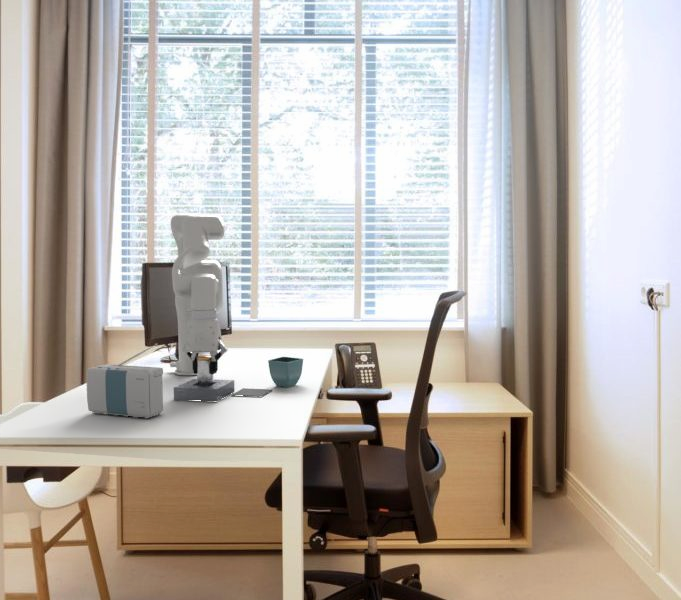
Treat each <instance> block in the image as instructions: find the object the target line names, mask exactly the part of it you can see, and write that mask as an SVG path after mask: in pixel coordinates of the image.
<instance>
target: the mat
mask: <svg viewBox="0 0 681 600" xmlns="http://www.w3.org/2000/svg"><path fill="white" fill-rule="evenodd" d="M270 391H271V392H273V389H272V388H270V389H269V388H244V387H243V388H241V389H239V390H237V391H236V392H234V393H233V394H231V395H243V396H263V395H265V394H266V395H268V394H269V393H271V392H270ZM268 392H269V393H268ZM267 393H268V394H267ZM266 395H265V396H266ZM263 397H264V396H263Z"/></svg>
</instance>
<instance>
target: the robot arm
mask: <svg viewBox="0 0 681 600" xmlns="http://www.w3.org/2000/svg"><path fill="white" fill-rule="evenodd" d="M225 230H226V229H225V223H224V220H223V218H222V217H221V216H220V215H218V214H209V213H208V214H205V213H202V214H200V213H179V214H175V215H173V216H172V217H171V218H170V231H171V234H172V237H173V239H174V241H175V244H176V247H177V257H176V258H175V261H173V265H172V268H171V278H172V279H171V281H172V290H173V293H174V296H175V298H174V304H175V305H174V306H175V309H176V316H177V317H176V318H177V332H178V334H177V335H178V337H177V338H178V339H177V340H178V360H177V361H170V363H169V367H170V368H176V369H175V370H174V373H175V375H178V376H197V356H203V355H206V353H209V355H210V356H211V358H212V361H211V362H210V370H211V374H213V375H214V374H217V372H218V364H219V363H218V361H219V360H220V358H221V357H222V356H223V355H225V353H227V352H228V348H227V347H226V345H225V344H224V343H223V342H222V330H221V325H220V321H219V319H218V318H217V314H219V313H221V312H222V309H223V304H224V302H223V301H224V298H223V294H224V293H223V269H222V266H221V263H220V262H218V261H217V260H214V259H213V260H212V259H210V260H209V259H207V258H209V255H210V253H211V252H210V251H211V250H210V243H209V240H210V241H211V240H213V241H214V240H215V241H216V240H217V241H218V240H222V239H223V238H224V236H225V232H226V231H225ZM218 351H219V352H218Z"/></svg>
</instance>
